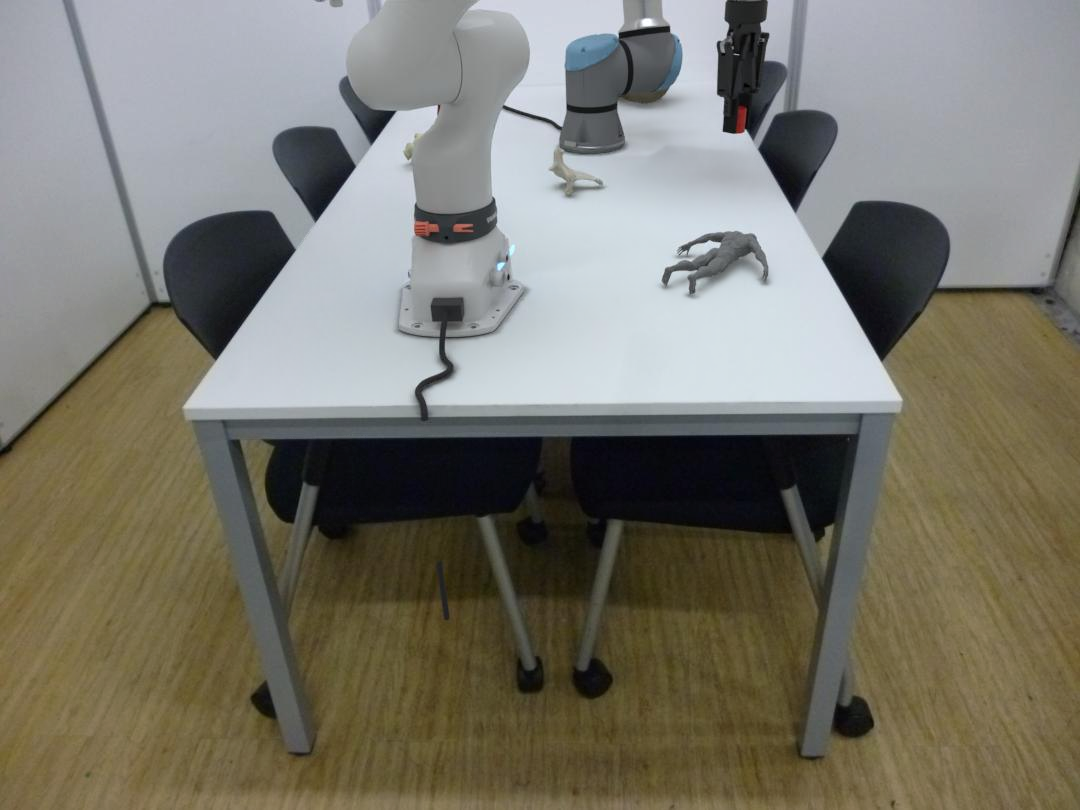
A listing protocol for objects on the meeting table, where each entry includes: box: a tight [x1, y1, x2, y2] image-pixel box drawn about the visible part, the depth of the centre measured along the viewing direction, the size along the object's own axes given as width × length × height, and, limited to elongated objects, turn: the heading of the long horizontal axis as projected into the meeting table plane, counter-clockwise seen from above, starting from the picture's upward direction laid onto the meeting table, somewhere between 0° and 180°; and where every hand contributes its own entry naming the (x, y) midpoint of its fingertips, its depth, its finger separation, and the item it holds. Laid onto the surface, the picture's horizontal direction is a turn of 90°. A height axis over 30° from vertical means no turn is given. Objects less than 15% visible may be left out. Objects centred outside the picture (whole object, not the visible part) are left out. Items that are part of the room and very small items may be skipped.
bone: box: [547, 147, 604, 196], centre depth 167 cm, size 10×6×10 cm
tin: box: [735, 106, 747, 135], centre depth 162 cm, size 4×4×4 cm
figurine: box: [661, 230, 769, 295], centre depth 130 cm, size 17×4×20 cm
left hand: (328, 4), depth 139 cm, fingers open, 8 cm apart
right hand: (735, 130), depth 163 cm, fingers closed on tin, 4 cm apart
